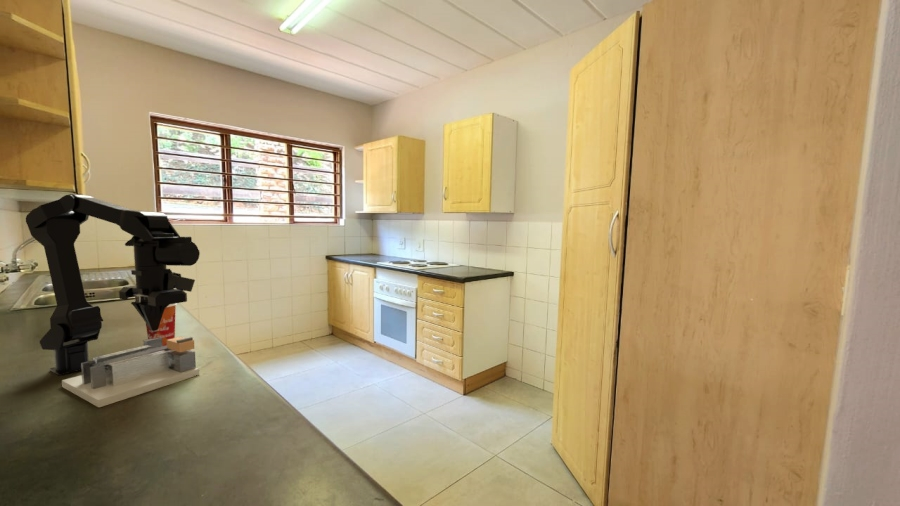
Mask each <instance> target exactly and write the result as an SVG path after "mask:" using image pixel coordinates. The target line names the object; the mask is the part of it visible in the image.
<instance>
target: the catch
mask: <svg viewBox="0 0 900 506" xmlns="http://www.w3.org/2000/svg"><path fill="white" fill-rule="evenodd" d="M167 348H168V349H171V350H174V351H177V352H184V351H187V350H191V351H192V350H194V349H195V339H194V338H193V337H192V336H189V337H183V336H177V337H175V338H173V339H169V340H167Z"/></svg>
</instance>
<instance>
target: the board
mask: <svg viewBox="0 0 900 506" xmlns="http://www.w3.org/2000/svg"><path fill="white" fill-rule="evenodd" d="M196 375H197V376H199V375H200V368H198V367H196V368H195V369H191V370H188V371H185V372H182V373H180V372H177V371H174V370H172V369H169V371H165V372H162V373H158V374H155V375H152V376H148V377H145V378H142V379H138V380H135V381H131V382H128V383H125V384H121V385H118V386H115V387H113V386H111V385H109V384H107V383H106V386H103V387H100V388H96V389H92V387H91V383H88V384H82V374H80V375H76V376H73V377H68V378H66V379H62V380H61V387H62V388H63V389H65V390H67V391H69V392H70V393H72V394H74V395H76V396H78V397H79V398H81V399H82V400H84V401H87V402H88V403H90V404H92V405H93V406H95V407H97V408H101V407H105V406H107V405H111V404H113V403H117V402H119V401H123V400H126V399H129V398H133V397H136V396H138V395H141V394H145V393H148V392H151V391H154V390H157V389H160V388H164V387H166V386H168V385H172V384H176V383H178V382H181V381H184V380H188V379H191V378H193V377H194V378H195V377H196Z"/></svg>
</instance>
